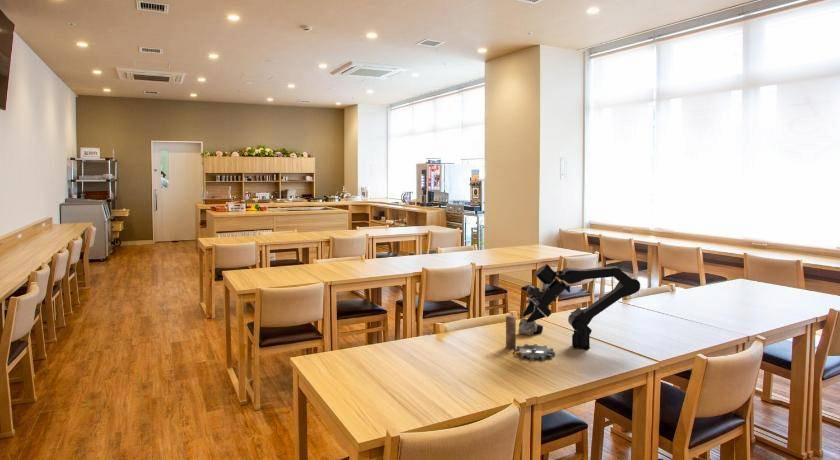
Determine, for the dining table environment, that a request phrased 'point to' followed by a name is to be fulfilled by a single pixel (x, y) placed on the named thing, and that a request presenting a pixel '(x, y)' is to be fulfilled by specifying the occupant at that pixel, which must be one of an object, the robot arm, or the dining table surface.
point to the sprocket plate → (534, 352)
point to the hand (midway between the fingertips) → (525, 318)
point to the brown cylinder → (510, 332)
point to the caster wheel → (529, 327)
